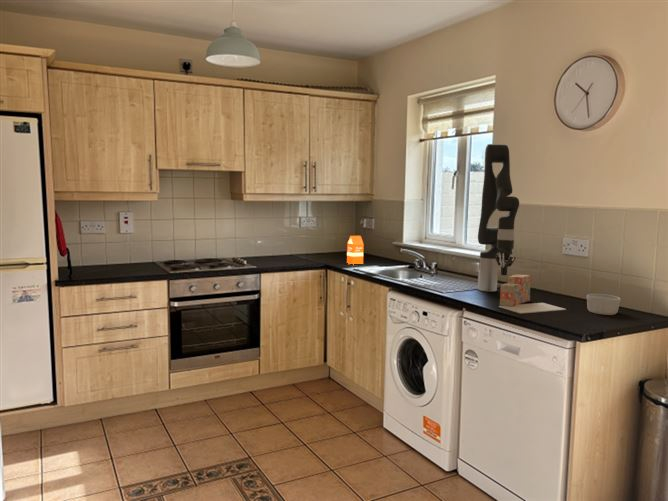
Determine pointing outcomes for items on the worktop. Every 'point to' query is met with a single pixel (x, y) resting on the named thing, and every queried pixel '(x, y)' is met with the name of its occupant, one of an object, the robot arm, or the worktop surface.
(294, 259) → the worktop surface
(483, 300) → the worktop surface
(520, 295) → the stack of blocks
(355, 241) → the orange juice
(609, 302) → the ramekin
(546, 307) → the mat
